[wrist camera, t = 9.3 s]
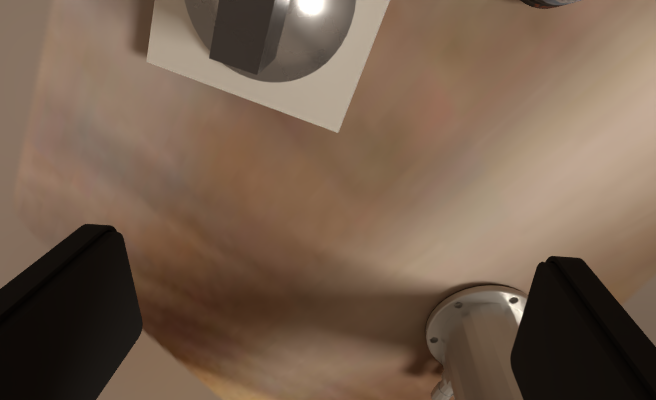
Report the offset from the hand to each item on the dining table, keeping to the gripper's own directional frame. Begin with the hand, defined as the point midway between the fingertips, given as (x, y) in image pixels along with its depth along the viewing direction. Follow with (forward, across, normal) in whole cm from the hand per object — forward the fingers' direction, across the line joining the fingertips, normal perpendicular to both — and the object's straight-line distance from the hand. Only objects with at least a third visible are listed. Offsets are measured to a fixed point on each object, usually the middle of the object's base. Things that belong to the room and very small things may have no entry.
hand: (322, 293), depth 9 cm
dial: (+24, +6, -7) cm, 26 cm away
